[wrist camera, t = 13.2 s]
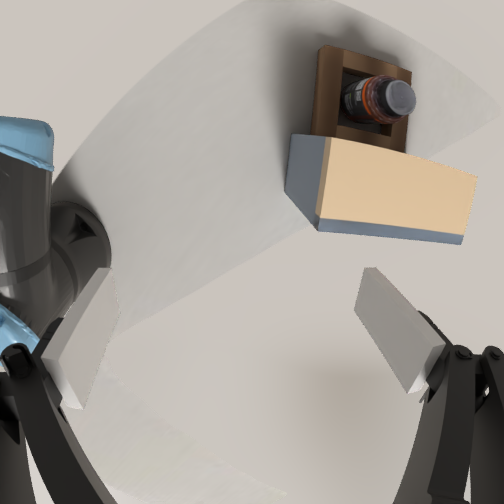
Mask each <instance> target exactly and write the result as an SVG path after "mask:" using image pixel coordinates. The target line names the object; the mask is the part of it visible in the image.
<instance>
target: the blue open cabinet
mask: <svg viewBox="0 0 504 504" xmlns="http://www.w3.org/2000/svg"><path fill="white" fill-rule="evenodd" d="M476 182H477V176H475V175H472V174H469V173H466V172H464V171H461V170H458V169H454V168H452V167H449V166H445V165H442V164H439V163H436V162H433V161H430V160H426V159H423V158H419V157H416V156H412V155H409V154H405V153H401V152H397V151H393V150H389V149H385V148H381V147H377V146H372V145H368V144H363V143H358V142H354V141H349V140H343V139H338V138H333V137H324V136H314V135H303V134H291V142H290V151H289V159H288V168H287V176H286V184H285V193H286V195H287V196H288V197H289V198H290V199H291V200H292V201H293V203H294V204H295V205H296V206H297V207H298V208H299V210H300V211H301V212H302V213H303V214H304V216H305V217H306V218H307V219H308V220H309V221H310V223H311V224H312V225H313V226H314V227H315V229H316V230H317V231H320V232H334V233H346V234H357V235H368V236H378V237H379V236H380V237H389V238H399V239H409V240H420V241H429V242H438V243H447V244H456V245H461V243H462V240H463V237H464V233H465V229H466V226H467V222H468V218H469V214H470V210H471V206H472V201H473V197H474V192H475V187H476Z"/></svg>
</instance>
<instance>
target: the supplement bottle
mask: <svg viewBox="0 0 504 504" xmlns="http://www.w3.org/2000/svg"><path fill="white" fill-rule="evenodd" d="M340 104H341V108H342V110H343V112H344V114H345V115H346V116H347V117H348V118H349V119H350V120H352V121H354V122H357V123H362V124H394V123H398V122H400V121H401V120H403V119H404V118H405V117H406V115H408V114H410V113H411V112H412V111H413V110H414V108H415V105H416V97H415V93H414V91H413V89H412V88H411V86H410V85H409V84H407V83H406V82H404V81H402V80H398V79H396V78H394V77H392V76H389V75H378V76H374V77H371V78H367V79H364V80H361V81H358V82H354V83H352V84H349V85H348V86H346V87H345V88H344V89H343V91H342V93H341V97H340Z"/></svg>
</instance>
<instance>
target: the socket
mask: <svg viewBox="0 0 504 504" xmlns="http://www.w3.org/2000/svg"><path fill="white" fill-rule="evenodd" d="M342 72H344V73H348V74H352V75H356V76H359V77H363V78H366V79H367V78H371V77H374V76H378V75H389V76H392V77H394V78H396V79H398V80H402V81H404V82H406V83H407V84H409V85H410V86H411V75H412V72H410V71H408V70H405V69H403V68H400V67H398V66H395V65H392V64H389V63H387V62H384V61H381V60H378V59H375V58H372V57H369V56H365V55H362V54H359V53H355V52H352V51H348V50H344V49H341V48H337V47H333V46H329V45H324V46H323V47H322V48H321V49H319V50H318V61H317V73H316V83H315V94H314V103H313V113H312V122H311V131H310V135H314V136H324V137H333V138H338V139H343V140H349V141H354V142H358V143H363V144H368V145H372V146H377V147H381V148H385V149H389V150H393V151H397V152H401V153H404V148H405V141H406V133H407V125H408V116H409V114H408V115H406V117H405V118H404V119H403V120H401V121H400V122H398V123H394V124H382V128H381V135H380V134H376V133H372V132H368V131H364V130H359V129H355V128H350V127H346V126H341V125H337V122H338V113H339V104H340V94H341V83H342Z"/></svg>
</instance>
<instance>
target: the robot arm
mask: <svg viewBox="0 0 504 504" xmlns="http://www.w3.org/2000/svg"><path fill="white" fill-rule="evenodd" d="M53 145H54V134H53V130H52V128H51V127H50V126H49V125H48V124H47V123H46V122H43V121H39V120H32V119H24V118H16V117H5V116H0V366H2V367H4V369H5V370H6V372H0V504H36V501H35V496H34V492H33V487H32V482H31V477H30V471H29V465H28V458H27V450H26V441H25V437H26V440H27V442H28V445H29V448H30V450H31V453H32V456H33V458H34V461H35V463H36V465H37V468H38V470H39V473H40V475H41V477H42V479H43V482H44V484H45V486H46V488H47V490H48V492H49V494H50V496H51V498H52V500H53V502H54V503H55V504H117V503H116V501H115V500H114V498H113V497H112V495H111V494H110V493H109V491H108V490H107V488H106V487H105V485H104V484H103V482H102V481H101V479H100V478H99V476H98V475H97V473H96V471H95V470H94V468H93V467H92V465H91V463H90V462H89V460H88V458H87V457H86V455H85V453H84V451H83V450H82V448H81V446H80V444H79V442H78V440H77V438H76V437H75V435H74V433H73V431H72V429H71V427H70V425H69V423H68V421H67V419H66V416H65V414H64V412H63V410H62V408H61V407H60V403H61V400H62V398H63V400H64V401H65V403H66V405H67V406H68V407H71V408H76V409H81V410H84V408H85V405H86V402H87V399H88V396H89V393H90V390H91V387H92V385H93V382H94V379H95V376H96V373H97V371H98V368H99V365H100V363H101V360H102V357H103V355H104V352H105V350H106V347H107V345H108V342H109V340H110V337H111V335H112V332H113V330H114V327H115V325H116V323H117V320H118V318H119V316H120V308H119V304H118V299H117V294H116V289H115V284H114V278H113V273H112V268H110V265H111V248H110V243H109V240H108V237H107V234H106V232H105V230H104V228H103V227H102V225H101V223H100V222H99V221H98V220H97V218H96V217H95V216H94V215H93V214H92V213H91V212H90V211H88V210H87V209H85V208H84V207H82V206H80V205H78V204H75V203H72V202H58V203H54V204H52V205H51V186H52V172H53V171H54V166H53ZM73 302H74V304H73ZM72 304H73V305H72ZM71 305H72V307H71V308H70V306H71ZM69 308H70V310H69V311H68V309H69ZM67 311H68V313H67V314H66V312H67ZM354 311H355V313H356V314H357V316H358V317H359V319H360V320H361V322H362V323H363V325H364V326H365V328H366V329H367V331H368V332H369V334H370V335H371V337H372V338H373V340H374V341H375V343H376V345H377V346H378V348H379V349H380V351H381V352H382V354H383V356H384V357H385V359H386V360H387V362H388V364H389V365H390V367H391V368H392V370H393V371H394V373H395V375H396V377H397V378H398V380H399V381H400V383H401V385H402V386H403V388H404V390H405V391H406V393H407V394H409V393H412V392H415V391H419V390H420V389H421V388H422V386H423V384H424V383H425V381H426V382H427V383H428V384H429V387H428V389H427V390H426V392H425V393H424V395H423V396H422V398H421V399H420V402H419V403H421V402H422V401H423V399H424V405H423V409H422V414H421V418H420V422H419V426H418V430H417V434H416V438H415V441H414V445H413V448H412V452H411V455H410V458H409V461H408V465H407V467H406V470H405V474H404V476H403V479H402V482H401V484H400V487H399V490H398V492H397V495H396V497H395V500H394V502H393V504H470V503H469V502H468V501H465V500H464V492H465V487H466V482H467V477H468V471H469V465H470V480H471V504H504V354H503V352H502V351H501V350H500V349H499V348H497V347H494V346H487V347H486V348H485V350H484V351H483V353H482V355H475V354H473V353H472V352H471V351H470V350H469V349H468V348H467V347H464V346H461V345H453V344H452V343H451V342H450V341H449V340H448V339H447V337H446V336H445V335H444V334H443V333H442V332H441V331H440V330H439V329H438V327H437V326H436V325H435V324H433V322H432V320H431V319H430V318H429V317H428V316H427V315H425V314H424V313H422V312H421V311H417V310H416V309H415V308H414V307H413V306H412V304H411V303H409V301H408V300H407V299H406V298H405V297H404V296H403V295H402V294H401V293H400V292H399V291H398V290H397V288H396V287H395V286H394V285H393V284H392V283H391V282H390V281H389V280H388V279H387V278H386V277H385V276H384V275H383V274H382V273H381V272H380V271H379V270H378V269H377V268H364V272H363V276H362V280H361V284H360V288H359V292H358V296H357V300H356V304H355V307H354ZM65 314H66V316H65V318H63V317H64V315H65ZM488 387H489V393H488V395H487V396H486V394H485V391H486V389H487V388H488Z"/></svg>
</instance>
